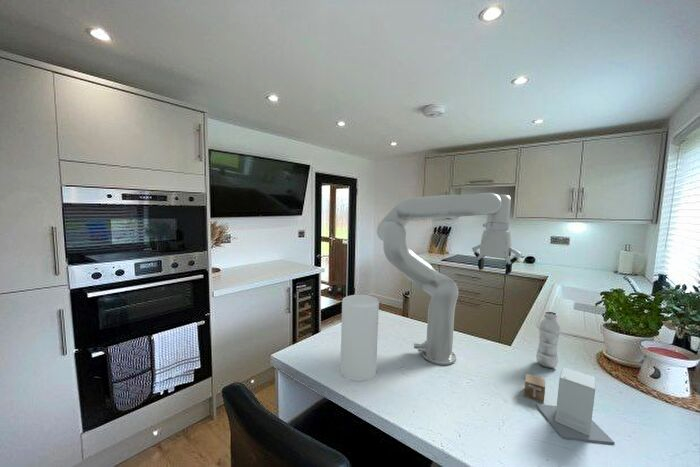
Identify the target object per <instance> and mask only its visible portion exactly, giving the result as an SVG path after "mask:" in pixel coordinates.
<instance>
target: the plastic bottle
mask: <svg viewBox="0 0 700 467" xmlns="http://www.w3.org/2000/svg"><path fill="white" fill-rule="evenodd" d="M557 320H558V314H557V313H556V312H553V311H549V310H548V311H544V315H543V319H542V320H541V321H540V322H539V324H538V331H539V338H538V339H539V341H538V342H539V343H538V348H537V351H536V354H535V359H536V362H537V363H538V364H539V365H540V366H543V367H545V368H551V369H553V368H555V367H556V368H557V366H558V363H559V357H558V342H559V338H560V333H561V326H560V324H559V323H558V321H557Z"/></svg>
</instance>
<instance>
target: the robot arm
mask: <svg viewBox="0 0 700 467" xmlns="http://www.w3.org/2000/svg"><path fill="white" fill-rule="evenodd" d="M510 213H511V196H510V195H508V194H497V193H494V192H480V193H474V194H473V193H471V194H469V193H468V194H441V195H429V196H417V197H416V196H415V197H406V198H403V199H401V200H400V201H398V202H397V203H396V205H394V206H393V208H392V209H391V210H390V211H389V212H388V213H387V214H386V216H385V217H384V218H383V219H381V221H380V222H379V223H378V225H377V228H376V235H377V236H378V239H380V240H381V241H383V242H382V243H383V244H382V245H383V253H384V256H385V258H386V259H387V261H388V262H389V263H390V264H391V265H392V266H394V267H395V268H396V269H397V270H398V271H399V272H401V273H402V275H403V276H404V277H405V278H406V279H408V280H409V281H411V283H413V284H414V285H416V286H417V287H418V288H419V289H422V290H423V291H424V292H426V294H428V295H429V296H431V298H430V301H429V303H428V304H429V305H428V310H427V326H426V340H424V342H422V343H417V342H416V343H415V342H414V343H413V349H415V350H416V349H417V352H421V356H422V357H423V359H425V360H426V361H427V362H430V363H432V364H435V365H440V366H447V365H448V366H449V365H452V364H455V363H456V360H457V355H456V354H455V353H454V351H453V343H454V328H455V327H454V326H455V325H454V324H455V313H456V312H455V310H456V306H457V305H456V304H457V301H458V297H459V287H458V285H457V283H456V282H455V281H454V280H453V279H452V278H450V277H449V276H447V275H445V274H443V273H440V272H439V271H437V270H436V269H435V268H434V267H433V266H432V265H431V263H430V262H429V261H427V260H426V259H424V258H422V257H421V256H419V255H418V254H417V253H415V252H414V251H413V250H412V249H411V248H409V246H408V245H407V232H406V226H407V224H408V223H410V221H411V222H412V221H413V222H416V221H417V222H418V221H428V220H438V219H453V218H454V219H455V218H460V217H474V216H485V215H486V222H484V223H482V228H485V230H483V232H482V236H481V239H480V244H479V245H478V244H477V245H476V246H473V247H471V249H472V251H473V254H474V256H475V257H476V259H477V267H478V270H479V271H482V270H484V267H485V259H484V258H485V257H489V258H496V259H497V258H498V259H504V260H505V262H506V264H505V272H504V274H505V275H510V273H512V270H513V263H515V262H516V261H518V260H519V258H520V257H521V256H522V252H520V251H519V250H517V249H515V248H513V247H512V237H511V236H512V235H511V231H509V227H510ZM478 250H479V251H478ZM512 254H514V257H511V256H512Z"/></svg>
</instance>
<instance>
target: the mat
mask: <svg viewBox="0 0 700 467" xmlns="http://www.w3.org/2000/svg"><path fill="white" fill-rule="evenodd" d="M535 407H536V408H537V409H538V410H539V411H540V413H541V414H542V415H543V417H544V418H545V419H546V421H547V422H548V423H549V424H550V426H552V428H553V429H554V430H555V432H556V433H557V435H559V437H560V438H561V439H562V440H571V441H572V440H573V441H579V442H580V441H581V442H590V443H591V442H592V443H598V444H609V445H615V441H614V440H613V439H612V438H611V437H610V436H609V435H608V434H607V433H606V432H605V431H604V430H603V429H602V428H601V427H600V426H599V425H597V424H596V423H597V422H595V421H593V419H592V421H591V429H590V435H586V434H583V433H581V432H579V431H576V430H574V429H572V428H570V427H567V426H565V425H563V424H560V423H558V422H556V421H555V416H556V407H557V405H552V404H551V405H550V404H539V403H536V404H535Z"/></svg>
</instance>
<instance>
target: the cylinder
mask: <svg viewBox="0 0 700 467" xmlns="http://www.w3.org/2000/svg"><path fill="white" fill-rule="evenodd" d="M379 309H380V300H379V299H378V298H376V297H374V296H370V295H367V294H366V295H365V294H350V295H347V296H344V297H343V298H342V300H341V329H340V331H341V332H340V333H341V335H340V336H341V337H340V364H339V365H340V367H339V368H340V369H339V370H340V373H341V375H342V376H343V377H344V378H345V379H348V380H350V381H353V382H354V381H355V382H365V381H369V380H371V379H373V378H374V377H375V376H376V374H377V364H378V363H377V362H378V361H377V359H378V336H379V334H378V333H379V311H380V310H379Z"/></svg>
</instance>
